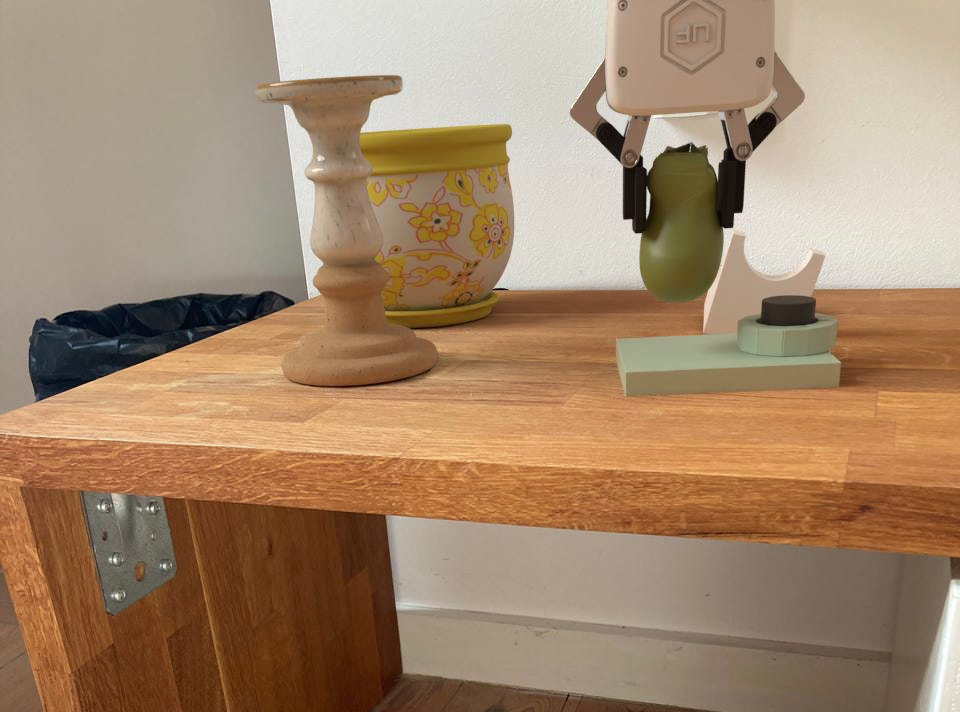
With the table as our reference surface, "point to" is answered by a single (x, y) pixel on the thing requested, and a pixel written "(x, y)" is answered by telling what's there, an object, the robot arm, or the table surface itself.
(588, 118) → the robot arm
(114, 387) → the table surface
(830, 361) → the green base plate
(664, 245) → the olive green rounded piece
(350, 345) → the candle holder
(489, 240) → the flowerpot
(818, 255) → the bracket
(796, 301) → the button
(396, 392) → the table surface
